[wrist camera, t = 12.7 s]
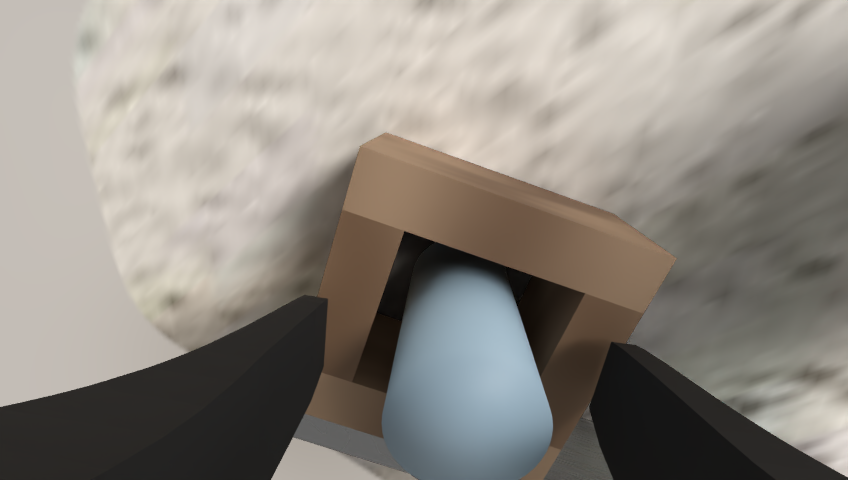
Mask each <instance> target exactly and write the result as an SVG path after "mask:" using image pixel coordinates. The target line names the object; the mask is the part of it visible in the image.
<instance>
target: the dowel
mask: <svg viewBox="0 0 848 480" xmlns="http://www.w3.org/2000/svg"><path fill="white" fill-rule="evenodd" d="M552 432H553V420H552V414H551V410H550V407H549V403H548V400H547V397H546V394H545V391H544V388H543V385H542V382H541V379H540V376H539V373H538V370H537V366H536V363H535V360H534V357H533V354H532V351H531V348H530V345H529V342H528V339H527V336H526V333H525V329H524V326H523V323H522V320H521V317H520V314H519V311H518V308H517V305H516V302H515V299H514V295H513V292H512V289H511V286H510V283H509V280H508V277H507V274H506V271H505V268H504V265H501V264H499V263H496V262H493V261H490V260H487V259H484V258H481V257H478V256H475V255H473V254H470V253H467V252H464V251H461V250H458V249H455V248H452V247H449V246H446V245H444V244H441V243H438V242H435V243H434V244H432V245H430V246H429V247H428V248H427V249H426V250H425V251H423V252H422V254H421V255H420V256H419V258H418V259H417V261H416V263H415V266H414V269H413V273H412V277H411V282H410V287H409V291H408V296H407V301H406V305H405V310H404V315H403V319H402V324H401V329H400V333H399V338H398V343H397V348H396V352H395V357H394V362H393V366H392V371H391V376H390V380H389V385H388V390H387V394H386V399H385V404H384V408H383V413H382V433H383V437H384V441H385V443H386V445H387V448H388V450H389V451H390V453H391V455H392V456H393V458H394V459H395V460H396V461H397V463H398V464H399V465H400V466H401V467H402V468H403V469H404V470H406V471H407V472H408V473H410V474H411V475H412V476H414V477H415V478H417V479H419V480H519V479H521V478H522V477H524V476H525V475H527V474H528V473H529V472H530V471H531V470H532V469H534V468H535V467H536V466H537V464H538V463H539V462H540V461H541V460H542V458H543V457H544V455H545V453H546V452H547V449H548V447H549V445H550V442H551V438H552Z"/></svg>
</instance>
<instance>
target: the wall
mask: <svg viewBox="0 0 848 480" xmlns="http://www.w3.org/2000/svg"><path fill="white" fill-rule="evenodd" d="M293 437H294V438H298V439H301V440H304V441H307V442H311V443H314V444H317V445H320V446H323V447H326V448H330V449H333V450H336V451H339V452H342V453H346V454H349V455H352V456H355V457H358V458H362V459H365V460H368V461H371V462H374V463H377V464H381V465H384V466H387V467H390V468H393V469H397V470H400V471H403V472H406V473H408V472H407V471H406V470H404V469H403V468H402V467H401V466H400V465H399V464H398V463H397V461H396V460H395V459H394V458H393V456H392V455H391V453H390V451H389V450H388V448H387V445H386V443H385V441H384V439H383V438H380V437H377V436H374V435H370V434H367V433H364V432H361V431H358V430H355V429H352V428H348V427H345V426H342V425H339V424H336V423H333V422H329V421H326V420H323V419H320V418H317V417H314V416H310V415H307V414H304V416H303V418H302V420H301V422H300V424H299V426H298V428H297V430H296V432H295V434H294V436H293ZM409 474H410V473H409ZM543 480H613V478H612V475H611V473H610V470H609V468H608V466H607V463H606V461H605V458H604V456H603V453H602V451H601V448H600V446H599V442H598V439H597V435H596V432H595V428H594V424H593V422H592V421H589V420H586V419H583V418H580V420H579V421H578V423H577V425H576V426H575V428H574V430H573V431H572V433H571V435H570V436H569V438H568V440H567V441H566V443H565V444H564V446H563V448H562V449H561V451H560V453H559V454H558V456H557V458H556V459H555V461H554V463H553V464H552V466H551V468H550V469H549V471H548V473H547V474H546V476H545V478H544V479H543Z"/></svg>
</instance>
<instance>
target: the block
mask: <svg viewBox="0 0 848 480" xmlns="http://www.w3.org/2000/svg"><path fill="white" fill-rule="evenodd" d="M404 231H406V232H409V233H412V234H415V235H418V236H420V237H423V238H426V239H429V240H432V241H435V242H438V243H441V244H444V245H446V246H449V247H452V248H455V249H458V250H461V251H464V252H467V253H470V254H473V255H475V256H478V257H481V258H484V259H487V260H490V261H493V262H496V263H499V264H501V265H504V266H507V267H510V268H513V269H516V270H519V271H522V272H525V273H528V274H530V275H532V278H531V280H530V282H529V284H528V286H527V288H526V290H525V292H524V294H523V296H522V298H521V300H520V303H519V305H518V307H517V308H518V311H519V314H520V317H521V320H522V323H523V326H524V329H525V333H526V336H527V339H528V342H529V345H530V348H531V351H532V354H533V357H534V360H535V363H536V366H537V370H538V373H539V376H540V379H541V382H542V385H543V388H544V391H545V394H546V397H547V400H548V403H549V407H550V410H551V414H552V420H553V432H552V438H551V442H550V445H549V447H548V449H547V452H546V453H545V455H544V457H543V458H542V460H541V461H540V462H539V463H538V464H537V466H536V467H535V468H534V469H532V470H531V471H530V472H529V473H528V474H527V475H525V476H524V477H522V478H521V479H519V480H543V479H544V478H545V476H546V474H547V473H548V471H549V469H550V468H551V466H552V464H553V463H554V461H555V459H556V458H557V456H558V454H559V453H560V451H561V449H562V448H563V446H564V444H565V443H566V441H567V440H568V438H569V436H570V435H571V433H572V431H573V430H574V428H575V426H576V425H577V423H578V421H579V420H580V418H581V416H582V415H583V413H584V411H585V410H586V408H587V406H588V405H589V403H590V401H591V400H592V397H593V394H594V391H595V388H596V385H597V382H598V379H599V376H600V374H601V371H602V368H603V365H604V362H605V359H606V356H607V353H608V350H609V347H610V344H611V342H617V343H624V344H626V342H627V340H628V339H629V337H630V335H631V334H632V332H633V330H634V329H635V327H636V325H637V324H638V322H639V320H640V319H641V317H642V315H643V314H644V312H645V310H646V309H647V307H648V305H649V304H650V302H651V300H652V299H653V297H654V296H655V294H656V292H657V291H658V289H659V287H660V286H661V284H662V282H663V281H664V279H665V277H666V276H667V274H668V272H669V271H670V269H671V267H672V266H673V264H674V262H675V261H676V259H677V258H675V257H674V256H673V255H671V254H670V253H668V252H667V251H666V250H664V249H663V248H661V247H660V246H658V245H657V244H656V243H654V242H653V241H651V240H650V239H649V238H647V237H646V236H644V235H643V234H641V233H640V232H639V231H637V230H636V229H634V228H633V227H632V226H630V225H629V224H627V223H626V222H624V221H623V220H622V219H620V218H619V217H617V216H616V215H615V214H612V213H609V212H607V211H604V210H601V209H598V208H595V207H593V206H590V205H587V204H584V203H581V202H579V201H576V200H573V199H570V198H568V197H565V196H562V195H559V194H556V193H554V192H551V191H548V190H545V189H542V188H540V187H537V186H534V185H531V184H528V183H526V182H523V181H520V180H517V179H514V178H512V177H509V176H506V175H503V174H500V173H498V172H495V171H492V170H489V169H486V168H484V167H481V166H478V165H475V164H473V163H470V162H467V161H464V160H461V159H459V158H456V157H453V156H450V155H447V154H445V153H442V152H439V151H436V150H433V149H431V148H428V147H425V146H422V145H419V144H417V143H414V142H411V141H408V140H405V139H403V138H400V137H397V136H394V135H392V134H389V133H384V134H382V135H380V136H378V137H376V138H374V139H373V140H371V141H369V142H367V143H365V144H363V145H361V146H360V148H359V152H358V155H357V159H356V162H355V166H354V169H353V173H352V176H351V180H350V183H349V187H348V190H347V194H346V198H345V201H344V205H343V208H342V212H341V215H340V219H339V222H338V226H337V229H336V233H335V236H334V240H333V243H332V247H331V250H330V254H329V257H328V261H327V264H326V268H325V271H324V275H323V279H322V282H321V286H320V289H319V293H318V296H317V297H320V298H327V299H328V309H327V324H326V340H325V355H324V367H323V370H322V373H321V376H320V378H319V381H318V384H317V387H316V390H315V392H314V395H313V397H312V400H311V402H310V404H309V406H308V408H307V410H306V412H305V414H307V415H310V416H314V417H317V418H320V419H323V420H326V421H329V422H333V423H336V424H339V425H342V426H345V427H348V428H352V429H355V430H358V431H361V432H364V433H367V434H370V435H374V436H377V437H380V438H383V439H384V437H383V433H382V413H383V408H384V404H385V399H386V394H387V390H388V385H389V380H390V376H391V371H392V366H393V362H394V357H395V352H396V348H397V343H398V338H399V333H400V329H401V324H402V321H400V320H397V319H394V318H391V317H388V316H385V315H382V314H379V313H376V312H377V309H378V306H379V303H380V300H381V297H382V294H383V292H384V289H385V286H386V283H387V280H388V277H389V274H390V271H391V268H392V266H393V263H394V260H395V257H396V254H397V251H398V248H399V245H400V242H401V239H402V237H403V234H404Z"/></svg>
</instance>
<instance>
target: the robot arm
mask: <svg viewBox="0 0 848 480" xmlns="http://www.w3.org/2000/svg"><path fill="white" fill-rule="evenodd" d="M327 309H328V299H327V298H320V297H314V296H307V295H304V296H302V297H299V298H297V299H295V300H293V301H292V302H290V303H288V304H286V305H284V306H282V307H281V308H279V309H277V310H275V311H273V312H272V313H270V314H268V315H266V316H264V317H262V318H260V319H258V320H257V321H255V322H253V323H251V324H249V325H247V326H245V327H243V328H241V329H239V330H237V331H235V332H233V333H231V334H229V335H226V336H224V337H222V338H220V339H218V340H216V341H214V342H212V343H210V344H208V345H205V346H203V347H201V348H198V349H196V350H194V351H191V352H189V353H186V354H184V355H181V356H179V357H176V358H174V359H171V360H168V361H165V362H163V363H160V364H157V365H154V366H152V367H149V368H146V369H143V370H139V371H136V372H133V373H130V374H126V375H123V376H120V377H117V378H113V379H110V380H107V381H104V382H100V383H97V384H94V385H90V386H87V387H83V388H79V389H76V390H71V391H68V392H63V393H60V394H56V395H52V396H48V397H43V398H39V399H35V400H30V401H26V402H22V403H17V404H12V405H8V406H3V407H0V480H271V478H272V476H273V474H274V473H275V471H276V469H277V467H278V465H279V463H280V461H281V459H282V457H283V455H284V453H285V451H286V449H287V447H288V445H289V444H290V442H291V440H292V438H293V436H294V434H295V432H296V430H297V428H298V426H299V424H300V422H301V420H302V418H303V416H304V414H305V412H306V410H307V408H308V406H309V404H310V402H311V400H312V397H313V395H314V392H315V390H316V387H317V384H318V381H319V378H320V376H321V373H322V370H323V367H324V355H325V340H326V324H327ZM589 408H590V412H591V416H592V420H593V424H594V428H595V432H596V435H597V439H598V442H599V446H600V448H601V451H602V453H603V456H604V458H605V461H606V463H607V466H608V468H609V470H610V473H611V475H612V478H613V480H848V477H846V476H844V475H842V474H840V473H838V472H837V471H835V470H833V469H831V468H830V467H828V466H826V465H824V464H822V463H821V462H819V461H817V460H815V459H814V458H812V457H810V456H808V455H806V454H805V453H803V452H801V451H799V450H798V449H796V448H794V447H792V446H791V445H789V444H787V443H786V442H784V441H782V440H781V439H779V438H777V437H776V436H774V435H773V434H771V433H769V432H768V431H766V430H765V429H763V428H761V427H760V426H758V425H757V424H755V423H754V422H752V421H750V420H749V419H747V418H746V417H744V416H742V415H741V414H739V413H738V412H736V411H735V410H733V409H732V408H730V407H729V406H727V405H726V404H724V403H723V402H721V401H720V400H718V399H717V398H715V397H714V396H712V395H711V394H709V393H708V392H707V391H705V390H704V389H702V388H701V387H699V386H698V385H696V384H695V383H693V382H692V381H690V380H689V379H688V378H686V377H685V376H683V375H682V374H680V373H679V372H677V371H676V370H674V369H673V368H672V367H670V366H669V365H667V364H666V363H664V362H663V361H661V360H660V359H658V358H657V357H655V356H653V355H652V354H650V353H649V352H647V351H645V350H644V349H642V348H640V347H638V346H636V345H631V344H624V343H617V342H611V344H610V347H609V350H608V353H607V356H606V359H605V362H604V365H603V368H602V371H601V374H600V376H599V379H598V382H597V385H596V388H595V391H594V394H593V397H592V400H591V403H590V406H589Z"/></svg>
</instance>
